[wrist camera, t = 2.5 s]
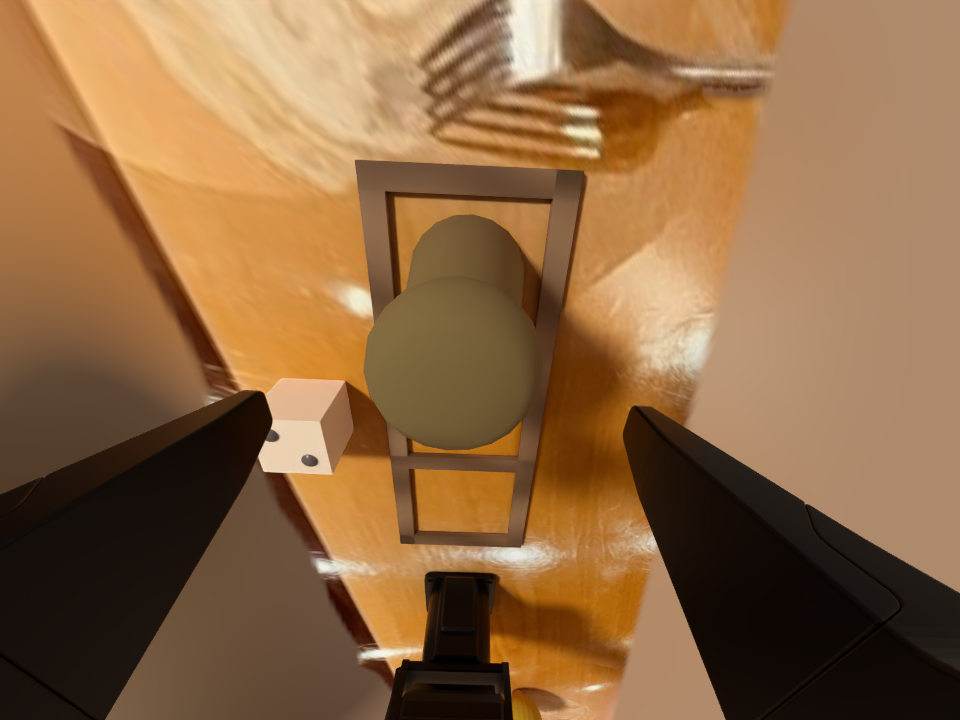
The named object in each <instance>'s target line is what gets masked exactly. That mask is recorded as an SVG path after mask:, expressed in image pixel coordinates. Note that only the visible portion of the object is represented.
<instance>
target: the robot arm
mask: <svg viewBox="0 0 960 720" xmlns="http://www.w3.org/2000/svg"><path fill="white" fill-rule="evenodd" d="M272 423H273V418H272V414H271V411H270V408H269V405H268V402H267V399H266V396H265V394H264V393H263V392H261V391H253V390H244V391H241V392H238V393H236V394H234V395H231V396H229V397H227V398H224V399H222V400H220V401H217V402H215V403H213V404H210V405H208V406H206V407H203V408H201V409H199V410H196V411H194V412H192V413H189V414H187V415H185V416H183V417H180V418H178V419H175V420H173V421H171V422H168V423H166V424H164V425H161V426H159V427H157V428H154V429H152V430H150V431H147V432H145V433H143V434H140V435H138V436H136V437H133V438H131V439H129V440H126V441H124V442H122V443H119V444H117V445H115V446H112V447H110V448H108V449H105V450H103V451H101V452H98V453H96V454H94V455H92V456H89V457H87V458H84V459H82V460H80V461H78V462H75V463H73V464H70V465H68V466H66V467H63V468H61V469H59V470H57V471H54V472H52V473H49V474H48V475H46V476H45V477H40V478H37V479H35V480H33V481H30V482H28V483H26V484H23V485H21V486H19V487H16V488H14V489H12V490H10V491H7V492H5V493H2V494H0V720H105V719H106V717H107V715H108V714H109V712H110V710H111V709H112V707H113V705H114V703H115V702H116V700H117V699H118V697H119V695H120V694H121V692H122V690H123V689H124V687H125V685H126V684H127V682H128V680H129V678H130V677H131V675H132V673H133V672H134V670H135V668H136V667H137V665H138V663H139V662H140V660H141V658H142V657H143V655H144V653H145V652H146V650H147V648H148V646H149V645H150V643H151V641H152V640H153V638H154V636H155V635H156V633H157V631H158V630H159V628H160V626H161V625H162V623H163V621H164V620H165V618H166V616H167V615H168V613H169V611H170V610H171V608H172V606H173V604H174V603H175V601H176V599H177V598H178V596H179V594H180V593H181V591H182V589H183V588H184V586H185V584H186V582H187V581H188V579H189V578H190V576H191V574H192V572H193V571H194V569H195V567H196V566H197V564H198V562H199V561H200V559H201V557H202V556H203V554H204V552H205V551H206V549H207V547H208V546H209V544H210V542H211V541H212V539H213V537H214V536H215V534H216V532H217V530H218V529H219V527H220V525H221V523H222V522H223V520H224V519H225V517H226V515H227V514H228V512H229V510H230V509H231V507H232V505H233V504H234V502H235V500H236V499H237V497H238V495H239V493H240V492H241V490H242V488H243V486H244V485H245V483H246V481H247V479H248V477H249V475H250V473H251V471H252V469H253V466H254V464H255V462H256V460H257V458H258V456H259V453H260V451H261V449H262V447H263V445H264V443H265V440H266V438H267V436H268V434H269V432H270V430H271V427H272ZM623 441H624V445H625V448H626V452H627V456H628V460H629V463H630V467H631V471H632V474H633V478H634V482H635V486H636V489H637V493H638V496H639V499H640V501H641V504H642V507H643V509H644V512H645V515H646V517H647V520H648V522H649V525H650V527H651V530H652V532H653V535H654V538H655V540H656V543H657V545H658V548H659V550H660V553H661V555H662V558H663V561H664V563H665V566H666V568H667V571H668V573H669V576H670V578H671V581H672V584H673V586H674V589H675V591H676V594H677V596H678V599H679V602H680V604H681V607H682V609H683V612H684V614H685V617H686V619H687V622H688V625H689V627H690V630H691V632H692V635H693V637H694V640H695V642H696V645H697V647H698V650H699V653H700V655H701V658H702V660H703V663H704V665H705V668H706V671H707V673H708V676H709V678H710V681H711V683H712V686H713V688H714V691H715V694H716V696H717V699H718V701H719V704H720V706H721V709H722V712H723V714H724V717H725V719H726V720H960V593H959V592H957V591H955V590H954V589H952V588H950V587H948V586H947V585H945V584H943V583H941V582H939V581H938V580H936V579H934V578H932V577H930V576H929V575H927V574H925V573H923V572H922V571H920V570H918V569H916V568H915V567H913V566H911V565H909V564H908V563H906V562H904V561H902V560H900V559H899V558H897V557H895V556H894V555H892V554H890V553H888V552H887V551H885V550H883V549H882V548H880V547H878V546H876V545H874V544H873V543H871V542H869V541H868V540H866V539H864V538H862V537H861V536H859V535H858V534H856V533H854V532H853V531H851V530H849V529H848V528H846V527H844V526H843V525H841V524H839V523H838V522H836V521H835V520H833V519H831V518H830V517H828V516H826V515H825V514H823V513H822V512H820V511H818V510H817V509H815V508H814V507H812V506H810V505H808V504H806V505H805V503H804V501H802V500H801V499H799V498H797V497H796V496H794V495H793V494H791V493H789V492H788V491H786V490H784V489H783V488H781V487H780V486H778V485H776V484H775V483H773V482H772V481H770V480H768V479H767V478H765V477H764V476H762V475H760V474H759V473H757V472H756V471H754V470H752V469H751V468H749V467H747V466H746V465H744V464H743V463H741V462H739V461H738V460H736V459H735V458H733V457H731V456H730V455H728V454H726V453H725V452H723V451H722V450H720V449H719V448H717V447H715V446H714V445H712V444H710V443H709V442H707V441H706V440H704V439H702V438H701V437H699V436H698V435H696V434H694V433H693V432H691V431H690V430H688V429H686V428H685V427H683V426H682V425H680V424H678V423H677V422H675V421H674V420H672V419H670V418H669V417H667V416H666V415H664V414H662V413H661V412H659V411H657V410H656V409H654V408H653V407H651V406H639V405H635V406H633V407H632V408H631V409H630V412H629V415H628V418H627V421H626V424H625V427H624V431H623ZM494 591H495V576H493V575H481V574H451V573H427V574H426V575H425V593H426V608H427V612H428V615H427V623H426V632H425V640H424V648H423V656H422V661H410V660H409V659H403V661H402V666H401V667H399V668H397V669H396V672H395V678H394V684H393V689H392V694H391V698H390V702H389V706H388V709H387V713H386V716H385V720H513V711H512V699H511V687H510V675H509V663H508V662H502V664H500V663H490V614H492V608H493V599H494Z"/></svg>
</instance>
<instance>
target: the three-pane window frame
mask: <svg viewBox="0 0 960 720" xmlns="http://www.w3.org/2000/svg"><path fill="white" fill-rule="evenodd" d="M355 165H356V174H357V182H358V190H359V199H360V207H361V215H362V224H363V232H364V240H365V249H366V257H367V266H368V274H369V282H370V291H371V299H372V307H373V316H374V324H375V323H376V321H377V319H378V317H379V315H380V314H381V312H382V311H383V309H384V308H385V307H386V306H387V305H388V304H389V303H390V302H391V301H393V300H394V299H395V298H396V296H395V284H394V272H393V260H392V248H391V236H390V224H389V212H388V200H387V191H391V192H412V193H434V194H456V195H477V196H499V197H520V198H542V199H552V201H551V209H550V216H549V224H548V231H547V239H546V247H545V254H544V262H543V269H542V277H541V285H540V292H539V300H538V307H537V315H536V323H535V330H536V333H537V336H538V339H539V342H540V345H541V348H542V351H543V354H544V357H543V377H542V384H541V389H540V391H539V394H538V396H537V398H536V401H535V403H534V405H533V407H532V410H531V411H530V412H529V413H528V414H527V415H526V416H525V417H524V418H523V422H522V429H521V437H520V444H519V452H518V456H495V455H468V454H441V453H414V452H408V440H407V437H405V436H403V435H402V434H401V433H400V432H398V431H397V430H396V429H395V428H394V427H392V426H391V425H390V424H389V423H388V422H387V421H386V424H387V433H388V441H389V449H390V458H391V466H392V475H393V483H394V491H395V500H396V508H397V516H398V525H399V533H400V541H401V544H429V545H458V546H488V547H518V548H521V544H522V538H523V532H524V526H525V520H526V514H527V508H528V502H529V496H530V491H531V485H532V479H533V473H534V467H535V461H536V455H537V449H538V443H539V437H540V431H541V425H542V419H543V413H544V407H545V401H546V395H547V389H548V383H549V377H550V371H551V365H552V359H553V353H554V347H555V341H556V335H557V329H558V323H559V317H560V311H561V305H562V299H563V293H564V287H565V281H566V275H567V269H568V264H569V258H570V252H571V246H572V240H573V234H574V228H575V222H576V216H577V210H578V204H579V198H580V192H581V186H582V180H583V174H584V171H580V170H559V169H538V168H517V167H496V166H475V165H454V164H433V163H412V162H391V161H369V160H355ZM410 469H433V470H460V471H488V472H515V473H516V475H515V482H514V490H513V498H512V505H511V513H510V521H509V528H508V534H492V533H462V532H433V531H415V525H414V513H413V501H412V488H411V476H410Z"/></svg>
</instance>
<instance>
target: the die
mask: <svg viewBox="0 0 960 720" xmlns="http://www.w3.org/2000/svg"><path fill="white" fill-rule="evenodd" d="M265 396H266V399H267V402H268V405H269V408H270V411H271V414H272V418H273V423H272V427H271V430H270V432H269V434H268V436H267V438H266V440H265V443H264V445H263V447H262V449H261V451H260V453H259V456H258V458H259V460H260V463H261V466H262V468H263V471H264V472H281V473H306V474H331V475H332V474H333V472H334V470H335V468H336V466H337V464H338V462H339V460H340V458H341V456H342V454H343V452H344V449H345V447H346V445H347V443H348V441H349V439H350V437H351V435H352V433H353V431H354V426H353V420H352V415H351V409H350V404H349V398H348V392H347V387H346V381H342V380H318V379H295V378H281V379H280V380H279V381H278V382H277V383H276V384H275V385H274V386H273V387H272V388H271V389H270V391H269V392H268V393H267V394H266V395H265Z"/></svg>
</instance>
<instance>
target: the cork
mask: <svg viewBox="0 0 960 720" xmlns="http://www.w3.org/2000/svg"><path fill="white" fill-rule="evenodd" d="M523 289H524V261H523V258H522V255H521V252H520V249H519V246H518V245H517V243H516V242H515V241H514V239H513V238H512V236H511V235H510V234H509V232H508V231H507V230H505V229H504V228H502V227H501V226H500V225H498V224H497V223H495V222H494V221H493V220H490V219H487V218H483V217H480V216H476V215H456V216H452V217H449V218H447V219H444V220H442V221H440V222H437V223H435V224H434V225H433V226H432V227H431V228H430V229H429V230H428V231H427V232H425V233H424V234H423V235H422V237H421V238H420V240H419V242H418V244H417V246H416V248H415V249H414V251H413V256H412V261H411V267H410V272H409V278H408V283H407V289H406V290H404V291H403V292H402V293H401V294H400V295H398V296H397V297H396V298H395V299H394V300H393V301H391V302H390V303H389V304H388V305H387V306H386V307H385V308H384V309H383V311H382V312H381V314H380V315H379V317H378V319H377V321H376V323H375V324H374V326H373V328H372V330H371V332H370V334H369V335H368V339H367V347H366V355H365V363H364V375H365V379H366V383H367V387H368V391H369V395H370V396H371V398H372V400H373V402H374V403H375V405H376V406H377V408H378V409H379V411H380V413H381V414H382V416H383V417H384V419H385V420H386V421H387V422H388V423H389V424H390V425H391V426H392V427H394V428H395V429H396V430H397V431H398V432H400V433H401V434H402V435H403V436H405V437H407V438H409V439H412V440H414V441H416V442H418V443H420V444H422V445H424V446H429V447H434V448H439V449H444V450H468V449H473V448H477V447H480V446H484V445H488V444H491V443H493V442H495V441H497V440H498V439H500V438H502V437H503V436H505V435H507V434H509V433H510V432H511V431H512V430H513V429H514V428H515V427H516V426H517V425H518V424H519V423H520V422H521V421H522V419H523V418H524V417H525V416H526V415H527V414H528V413H529V412H530V411H531V410H532V407H533V405H534V403H535V401H536V398H537V396H538V394H539V391H540V389H541V384H542V377H543V357H544V354H543V351H542V348H541V345H540V342H539V339H538V336H537V333H536V330H535V327H534V324H533V321H532V320H531V319H530V318H529V316H528V315H527V314H526V312H525V311H524V310H523V309H522V299H523Z"/></svg>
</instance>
